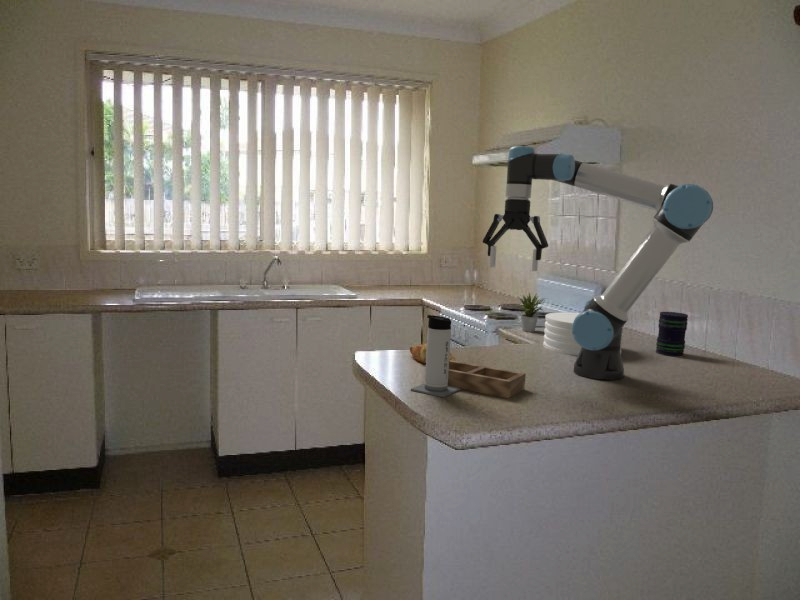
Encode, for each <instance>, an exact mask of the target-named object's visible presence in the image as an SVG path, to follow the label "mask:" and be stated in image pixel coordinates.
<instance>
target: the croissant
mask: <svg viewBox="0 0 800 600" xmlns="http://www.w3.org/2000/svg"><path fill="white" fill-rule="evenodd" d="M426 351H427V341H426V342H425V343H422V344H420V345H416V346H411V347H409V353H410V354H411V356H412V357H413V359H414V360H416V361H417V362H419V363H423V364H425V363H426ZM449 360H452V361H457V360H456V358H455V357H454V356H453V354H452V353H451V352H450V356H449Z"/></svg>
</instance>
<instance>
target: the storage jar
mask: <svg viewBox="0 0 800 600" xmlns="http://www.w3.org/2000/svg"><path fill="white" fill-rule="evenodd" d="M688 318H689V315H688V314H686V313H682V312H674V311H660V313H659V319H658V325H657V326H658V334H657V338H656V345H655V346H656V347H655V349H656V350H655V353H656V354H657V355H660V354H661V356H665V357H673V356H681V357H684V356H683V355H684V354H685V353H684V352H685V349H686V348H685V347H686V339H685V338H686V331H687V330H688V324H689V323H688Z"/></svg>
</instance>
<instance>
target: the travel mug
mask: <svg viewBox="0 0 800 600" xmlns="http://www.w3.org/2000/svg"><path fill="white" fill-rule="evenodd" d="M426 318H427V319H428V324H427V336H426V340H427V341H426V342H427V351H426V364H425V368H424V370H425V371H424V372H425V373H424V383H425V386H424V387H425V389H427V390H430V391H445V390H447V388H448V372H449V356H450V353H451V340H452V339H451V337H452V335H451V334H452V319H450V318H449V317H444V316H440V315H433V314H427V316H426Z"/></svg>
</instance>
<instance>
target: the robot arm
mask: <svg viewBox="0 0 800 600" xmlns="http://www.w3.org/2000/svg"><path fill="white" fill-rule="evenodd" d="M506 169H507V170H506V171H507V173H506V185H505V197H506V200H504V213H503V214H500V213H495V214H494V216H493V221H492V222H491V225H490V226H489V228H488V229H487V232H486V233H485V236H484V237H483V239H482V244H485V245H487V256H488V257H489V268H496V257H497V245H496V243H497V242H499V240H500V239H501V238H502V237H503V235H505V234H506V232H507V231H509V230H510V231H511V230H512V231H513V230H515V231H523V232H524V233H525V234H526V236H527V237H528V239H529V240H530V242H531V243H532V245H533V246H534V247H535V248H534V249H532V251H533V252H532V262H531V264H532V265H531V272H537V271H538V263H539V261H541V260H542V252H543V249H546V248H549V243H548V241H547V238H546V236H545V232H544V230H543V228H542V226H541V217H540V216H539V215H534V216H531V215H530V213H531V212H530V211H531V200H530V199H531V197H532V184H533V180H547V181H553V182H559V183H562V184H565V185H568V186H571V187H576V188H580V189H583V190H586V191H590V192H592V193H593V192H594V193H597V194H598V195H603V196H605V197H609V198H613V199H616V200H619V201H622V202H625V203H630V204H632V205H636V206H640V207H642V208H645V209H649V210H652V211H655V212H656V213H655V215H654V216H653V217H652V220H653V221H652V222H653V226H652V228H651V229H650V231H649V232H648V233H647V234H646V236H645V237H644V238H643V240H642V241H641V243H640V244H639V245H638V246H637V248H636V249H635V250H634V252H633V253H632V254H631V256H630V257H629V258H628V259H627V261H626V262H625V263H624V265H623V266H622V268H620V270H619V272H618V273H617V274H616V275H615V277H614V278H613V279H612V280H611V282H610V283H609V285H608V286H607V287H606V289H605V290H604V292H602V294H598V295H594V296H593V297H592V298H591V299H588V300H587V301H585V305H584V309H583V310H582V312H579V313H580V314H579V315H578V316H577V317H576V318H575V320H574V322H573V325H572V334H573V337H574V339H575V341H576V342H577V343H578V344H579V345H580V346H581V350H580V352H579V355H578V356H577V357H576V359H575V361H574V364H573V372H574V374H576V375H578V376H581V377H585V378H590V379H594V380H596V379H597V380H604V379H605V380H606V381H611V380H621V379H623V378H624V375H625V368H624V364H623V360H622V359H623V358H622V355H621V354H622V353H621V354H620V349H621V348H620V346H621V342H622V341H621V336H623V334H622V328H623V327H625V324H626V323H627V322H628V320H629V318H628V312H629V310H630V309H631V308H632V307H633V305H634V304H635V303H636V302H637V300H638V299H639V297H641V295H642V294H643V292H644V291H645V290H646V289H647V287H648V286H649V285H650V284H651V282H652V281H653V280H654V278H655V277H656V276H657V274H659V272H660V271H661V270H662V268H663V267H664V266H665V264H666V263H667V262H668V261H669V260H670V258H671V256H672V255H673V254H674V253H675V252H676V250H677V249H678V247H679V246H680V245H682V244H685V243H689V242H690V241H691V240H692V239H693V238H694V237H695V235H696V234H698V231H699V230H700V229H701V227H702V226H703V225H704V224H705V223H706V222H708V220H709V219H710V217H711V216H712V213H713V211H714V202H713V201H714V200H713V199H712V196H711V194H710V193H709V192H708V191H707V190H706V189H705V188H704V187H702V186H700V185H698V184H691V183H687V184H686V183H685V184H681V185H677V184H673V183H668V184H665V185H663V184H661V183H656V182H653V181H650V180H647V179H642V178H639V177H635V176H632V175H628V174H625V173H622V172H617V171H614V170H611V169H607V168H603V167H599V166H596V165H592V164H590V163H586V162H582V161H578V160H576V159H575V157H574V155H573V154H567V153H557V154H556V153H535V148H534V147H532V146H524V145H523V146H522V145H516V146H511V148H509V150H508V160H507V168H506ZM502 220H503V222H504V223H503V225H502V226H501V227H500V229H499V230H498V231H497V232H496V233H495V231H496V230H497V228H498V226H499V224H500V222H501V221H502ZM530 221H531V224H533V227H534V229H535V233H536V234H537V236H536V235H535V234H534V232H533V231H532V230H531V227H530V226H529V223H530ZM494 233H495V235H494ZM537 237H538V238H537ZM538 239H539V240H538Z"/></svg>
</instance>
